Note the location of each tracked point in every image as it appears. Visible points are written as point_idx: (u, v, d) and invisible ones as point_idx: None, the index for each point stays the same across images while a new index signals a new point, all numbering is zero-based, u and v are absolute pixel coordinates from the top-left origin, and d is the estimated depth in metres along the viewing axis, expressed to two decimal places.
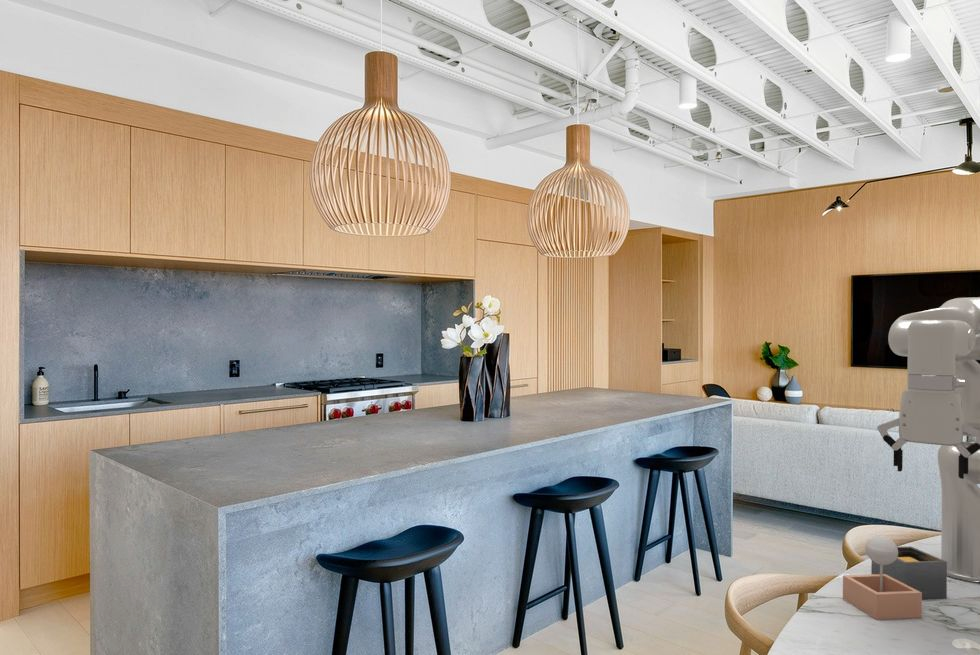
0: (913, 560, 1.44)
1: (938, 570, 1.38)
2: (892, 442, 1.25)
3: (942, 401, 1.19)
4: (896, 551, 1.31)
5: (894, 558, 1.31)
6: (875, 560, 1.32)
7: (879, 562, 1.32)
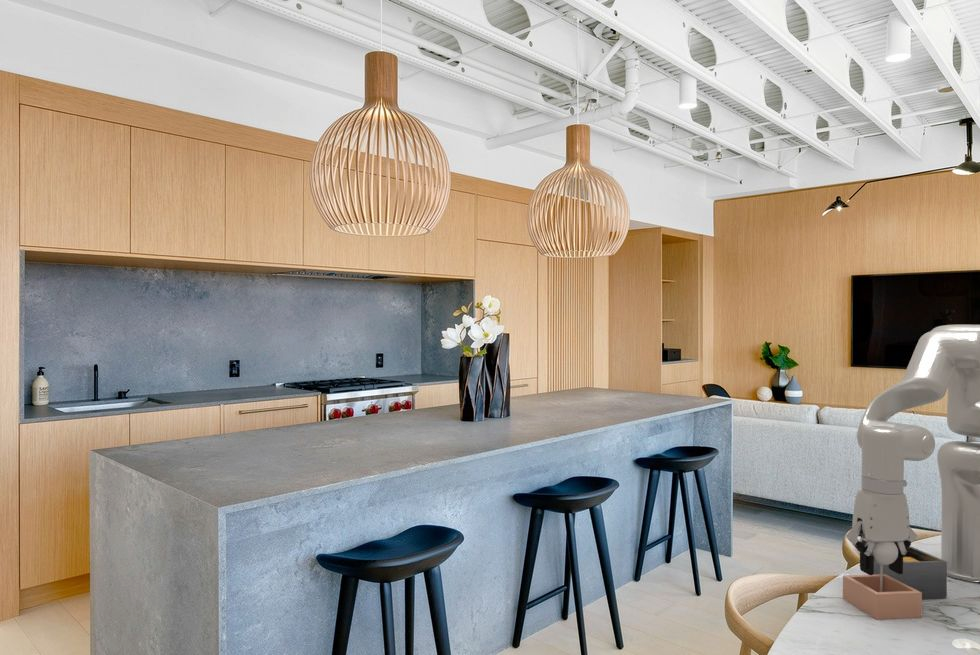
0: (913, 560, 1.44)
1: (938, 570, 1.38)
2: (863, 549, 1.32)
3: (898, 503, 1.31)
4: (896, 551, 1.31)
5: (894, 558, 1.31)
6: (875, 560, 1.32)
7: (879, 562, 1.32)
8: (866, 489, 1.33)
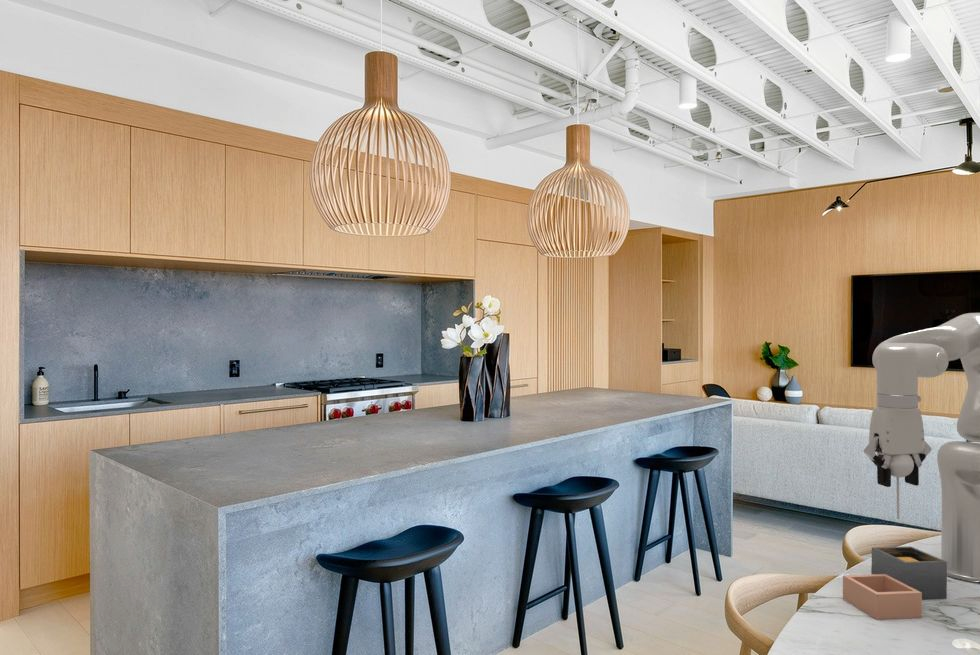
0: (913, 560, 1.44)
1: (938, 570, 1.38)
2: (880, 462, 1.37)
3: (913, 416, 1.36)
4: (912, 463, 1.36)
5: (910, 469, 1.36)
6: (892, 473, 1.37)
7: (896, 474, 1.37)
8: (882, 405, 1.38)
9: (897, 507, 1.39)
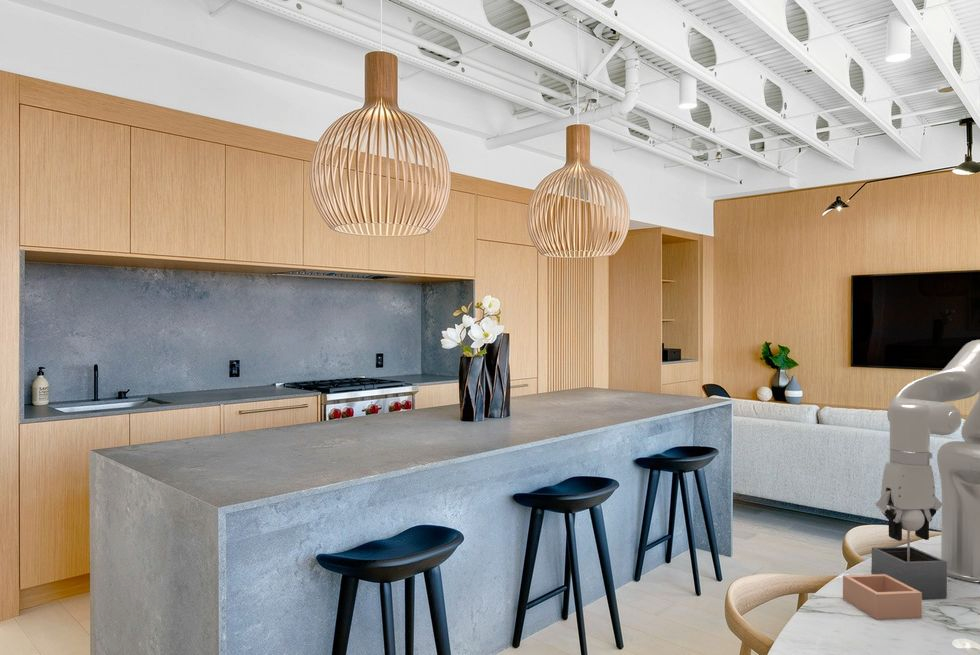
0: None
1: (938, 570, 1.38)
2: (892, 516, 1.42)
3: (925, 473, 1.41)
4: (923, 518, 1.41)
5: (921, 524, 1.40)
6: (903, 527, 1.42)
7: (907, 528, 1.41)
8: (894, 461, 1.42)
9: (907, 560, 1.43)
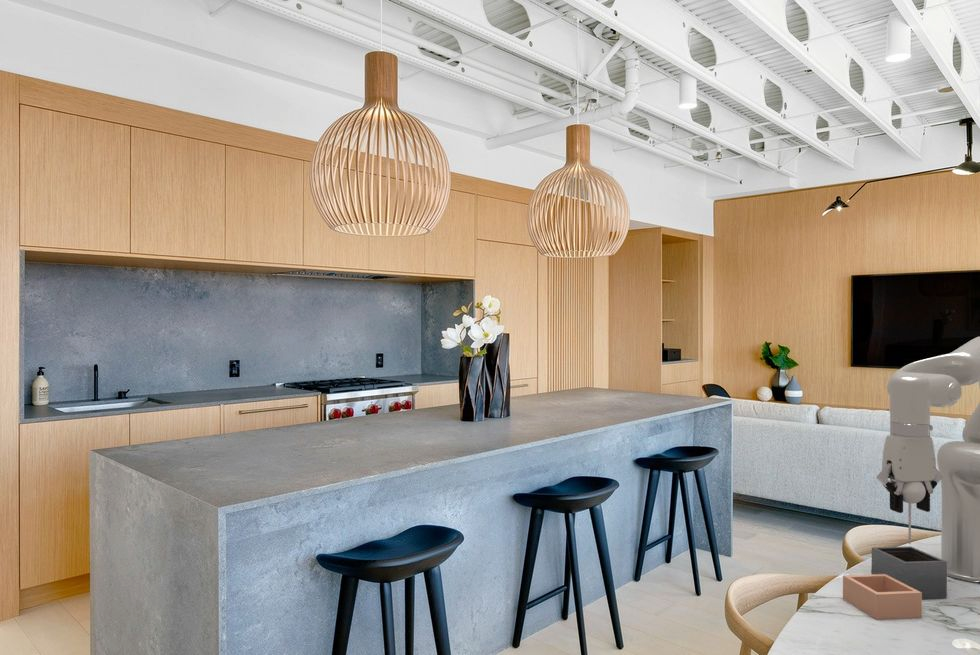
0: None
1: (938, 570, 1.38)
2: (893, 489, 1.42)
3: (925, 445, 1.41)
4: (924, 490, 1.41)
5: (922, 496, 1.41)
6: (904, 499, 1.42)
7: (908, 501, 1.42)
8: (895, 433, 1.43)
9: (909, 532, 1.43)
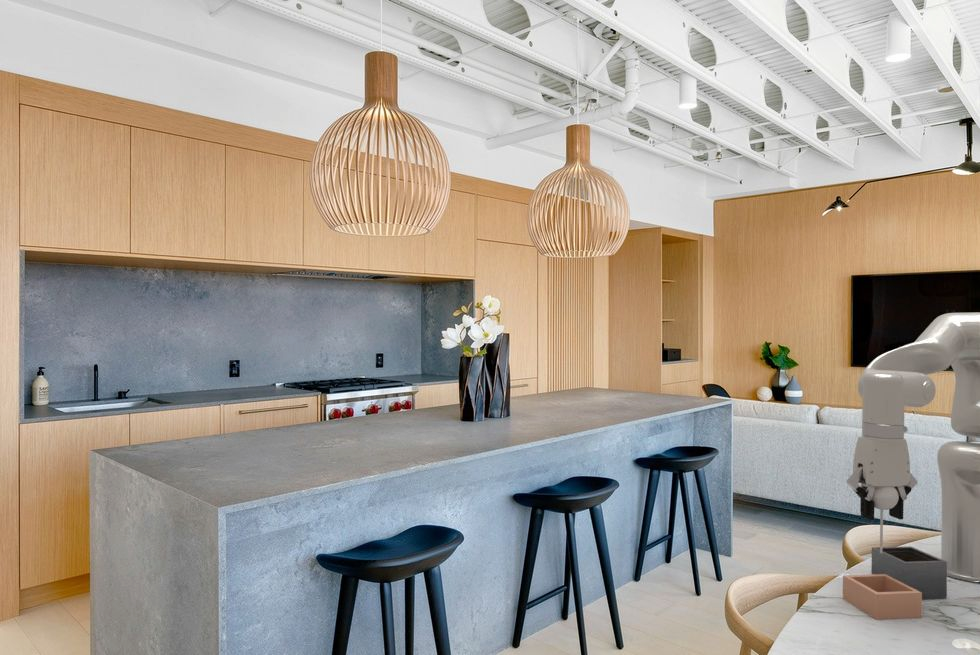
0: None
1: (938, 570, 1.38)
2: (864, 494, 1.32)
3: (899, 447, 1.31)
4: (896, 495, 1.31)
5: (894, 502, 1.31)
6: (875, 505, 1.32)
7: (879, 507, 1.32)
8: (867, 434, 1.33)
9: (880, 541, 1.33)
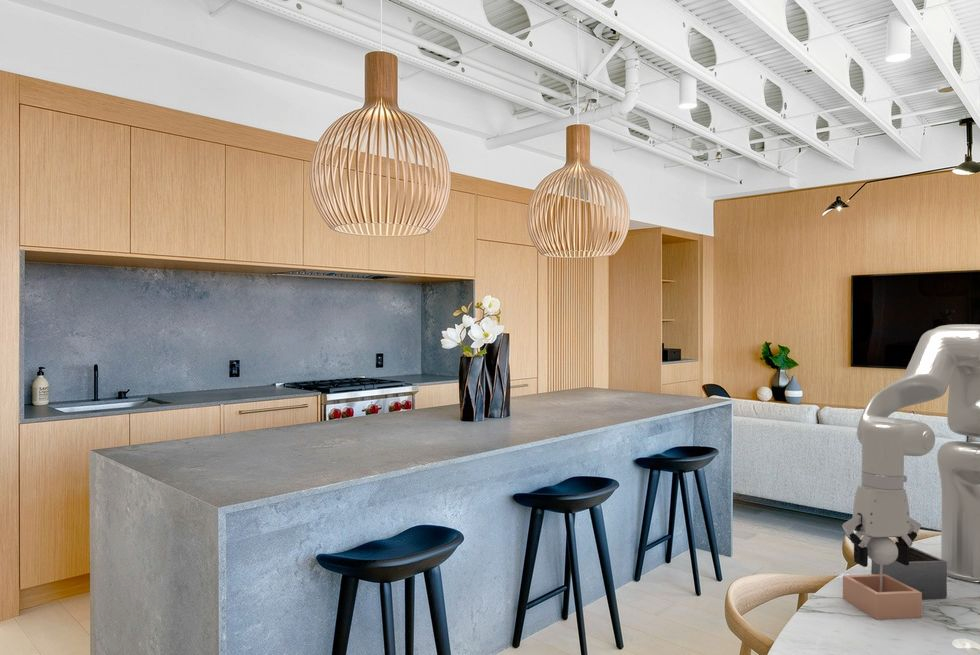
0: None
1: (938, 570, 1.38)
2: (858, 540, 1.32)
3: (898, 498, 1.31)
4: (896, 551, 1.31)
5: (894, 558, 1.31)
6: (875, 560, 1.32)
7: (879, 562, 1.32)
8: (866, 484, 1.33)
9: None
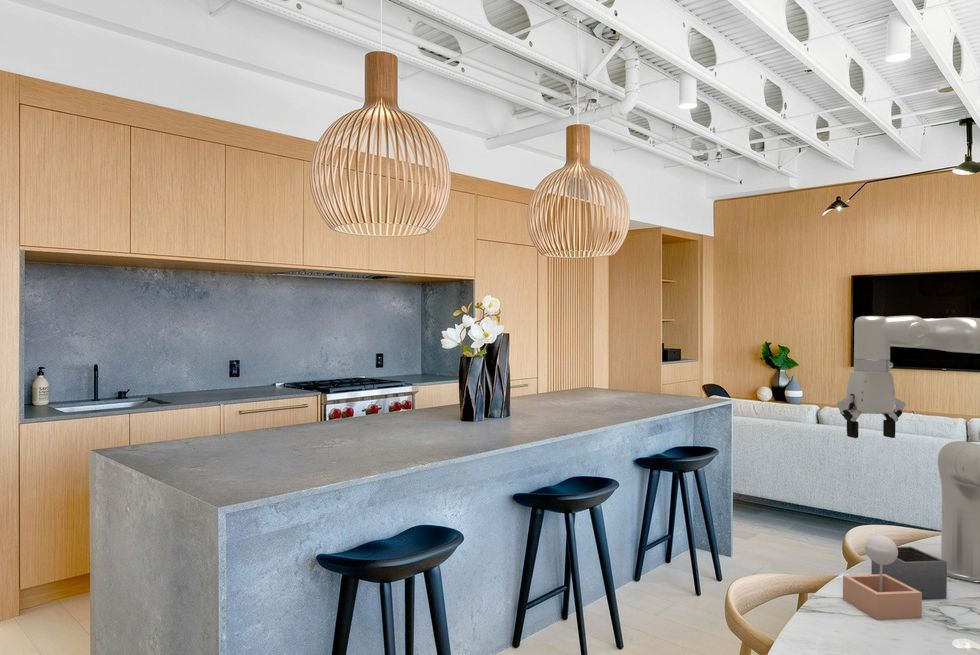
0: None
1: (938, 570, 1.38)
2: (850, 415, 1.53)
3: (885, 379, 1.53)
4: (896, 551, 1.31)
5: (894, 558, 1.31)
6: (875, 560, 1.32)
7: (879, 562, 1.32)
8: (858, 369, 1.54)
9: None
